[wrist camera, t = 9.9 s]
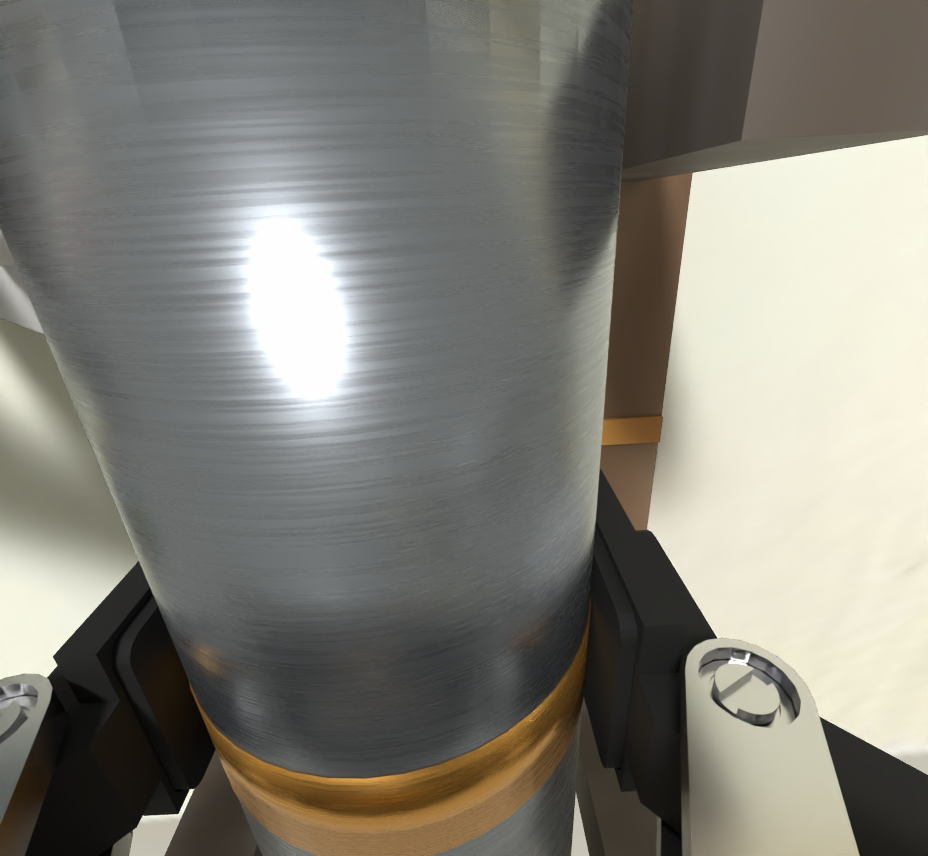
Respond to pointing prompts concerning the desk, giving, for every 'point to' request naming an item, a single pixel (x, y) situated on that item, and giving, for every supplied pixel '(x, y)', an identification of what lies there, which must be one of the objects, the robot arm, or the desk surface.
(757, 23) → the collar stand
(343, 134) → the grey cylinder
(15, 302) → the test tube rack
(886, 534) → the desk surface
